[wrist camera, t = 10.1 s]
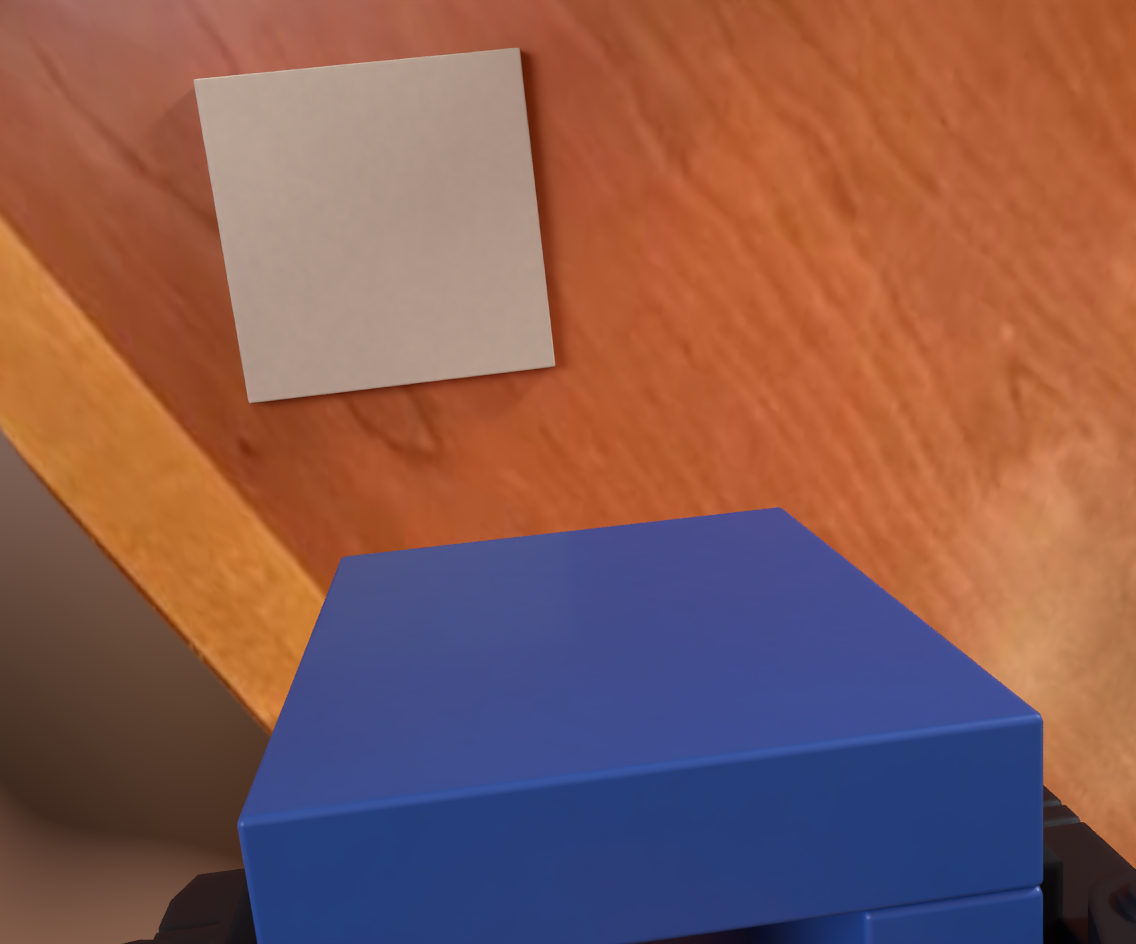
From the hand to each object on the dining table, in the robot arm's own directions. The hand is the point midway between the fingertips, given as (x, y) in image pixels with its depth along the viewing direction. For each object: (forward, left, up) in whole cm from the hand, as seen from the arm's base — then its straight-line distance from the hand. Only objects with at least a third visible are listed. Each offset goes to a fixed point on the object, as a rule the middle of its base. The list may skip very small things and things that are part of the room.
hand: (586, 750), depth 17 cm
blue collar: (0, 0, -1) cm, 1 cm away
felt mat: (-4, +9, -27) cm, 29 cm away
